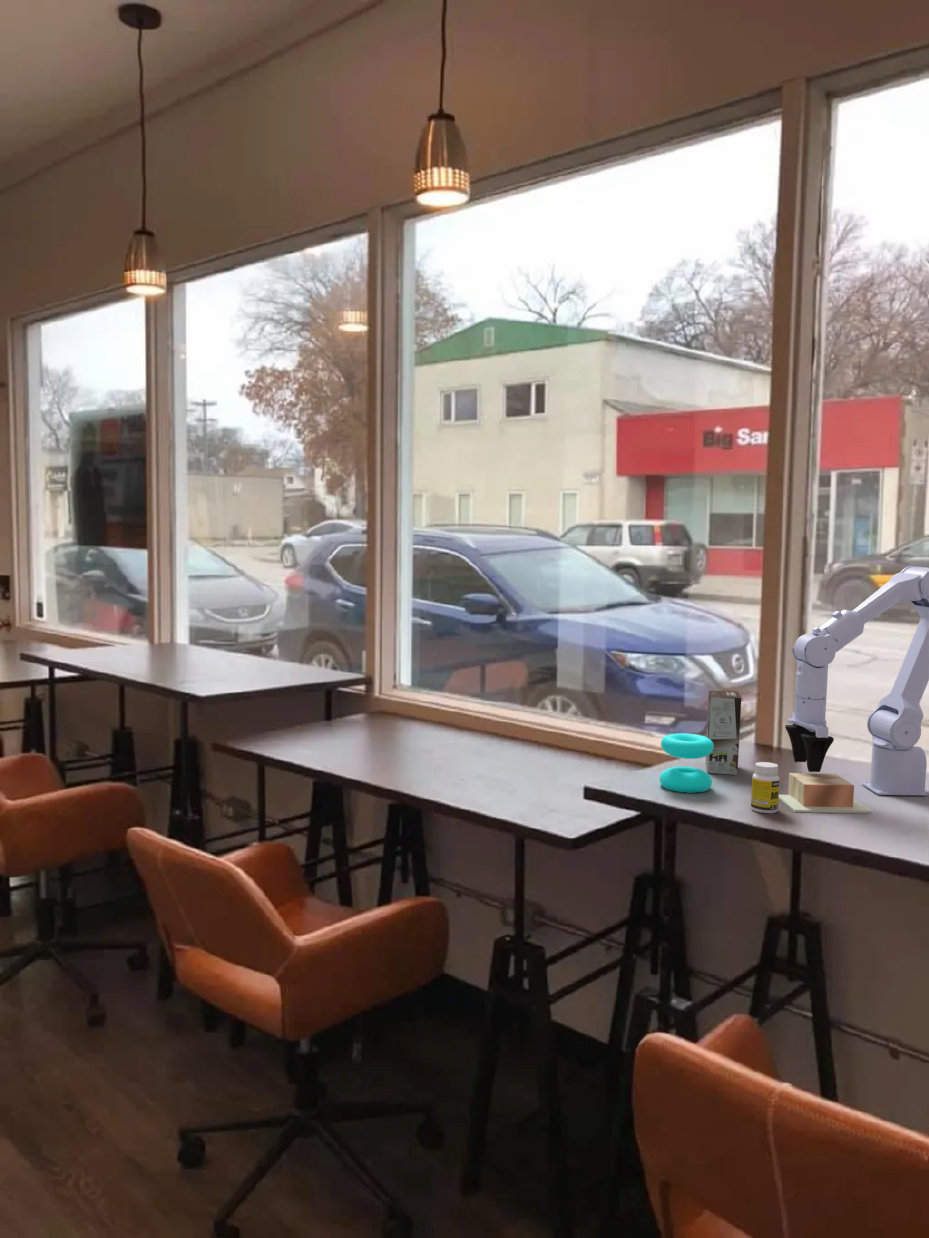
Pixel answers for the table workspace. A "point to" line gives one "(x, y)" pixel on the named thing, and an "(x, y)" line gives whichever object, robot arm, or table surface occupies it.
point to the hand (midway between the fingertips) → (806, 766)
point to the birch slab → (820, 790)
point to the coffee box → (723, 731)
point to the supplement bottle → (765, 788)
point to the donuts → (681, 775)
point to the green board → (797, 807)
